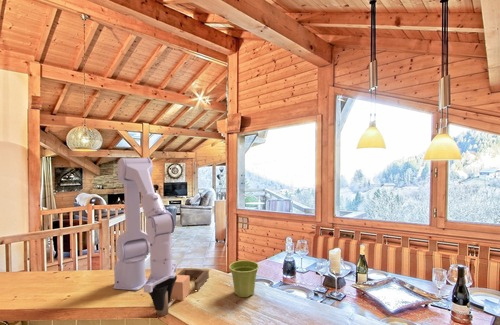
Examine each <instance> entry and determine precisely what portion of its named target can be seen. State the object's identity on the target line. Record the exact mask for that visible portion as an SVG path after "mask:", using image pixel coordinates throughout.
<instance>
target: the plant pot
mask: <svg viewBox="0 0 500 325" xmlns="http://www.w3.org/2000/svg"><path fill="white" fill-rule="evenodd" d="M259 265H260V264H259V263H258V262H255V261H253V260H245V259H244V260H238V261H233V262H232V263H230V264H229V270H230V273H231V276H232V282H233V290H234V295H237V297H239V298H248V297H250V296H253V295H254V294H255V287H256V280H257V273H258V269H259V268H260V266H259Z"/></svg>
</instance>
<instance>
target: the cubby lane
mask: <svg viewBox="0 0 500 325" xmlns="http://www.w3.org/2000/svg"><path fill="white" fill-rule="evenodd" d="M176 275H188V276H190V279H195V278H197V279H195V280H194V283H193V284H194V291H195V290H201V288H202V287H203V286H204V285H205V283H206V282H207V281H208V280H209V278H210V270H209V268H207V269H204V268H188V267H187V268H185V267H184V268H182V270H180V272H179V273H176ZM207 279H208V280H207ZM206 280H207V281H206ZM205 281H206V282H205ZM202 285H203V286H202ZM201 286H202V287H201ZM200 287H201V288H200Z"/></svg>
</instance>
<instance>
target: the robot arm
mask: <svg viewBox="0 0 500 325" xmlns="http://www.w3.org/2000/svg"><path fill="white" fill-rule="evenodd" d="M116 167H117V180H118V183H120V184H122V185H123V190H124V191H123V193H124V219H125V221H124V222H125V230H124V232H123V233H122V234H120V235H119V236H118V237H117V239H116V247H115V250H116V251H115V252H116V258H117V259H118V260H117V261H116V262H115V265H114V268H113V270H114V271H113V272H114V276H113V277H114V278H113V279H114V286H113V287H112V289H114V290H116V289H117V290H124V291H125V290H127V291H140V289H142V288H143V293H148V295H149V296H150V298H151V300H152V303H153V306H154V310H155V311H157V310H159V311H162V310H163V309H164V301H165V293H166V290H168V304H169V303H170V302H171V300H172V299H171V294H172V289H173V286H174V283H175V281H176V279H177V276H176V275H177V273H176V272H177V271H178V264H177V263H173V255H172V254H173V251H172V247H173V246H172V234H173V233H174V232H175V228H176V223H175V218H174V216H173V214H172V213H171V212H170V211H169V210H167V209H166V206H165V204H164V202H163V200H162V196H161V194H159V193H157V192H156V190H155V187H154V184H153V180H152V174H153V171H154V164H153V160H152V159H151V158H150V157H136V158H135V157H134V158H132V157H131V158H130V157H129V158H127V157H126V158H124V157H120V158H119V159H118V162H117V166H116ZM140 193H141V194H140ZM140 195H141V196H142V198H141V196H140ZM140 198H141V199H140ZM141 207H142V210H143V213H144V217H145V218H146V220H145V221H146V222H145V230H146V231H143V230H142V226H141V223H142V222H141ZM148 255H149V260H150V265H149V266H150V275H149V276H148V278H146V259H147V256H148Z"/></svg>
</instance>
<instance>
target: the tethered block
mask: <svg viewBox="0 0 500 325" xmlns="http://www.w3.org/2000/svg"><path fill="white" fill-rule="evenodd" d="M176 276H177V279H176V281H175V283H174V286H173V289H172V294H171V299H170V303H169V304H168V290H166V293H165V301H164V309H163V310H162V311H159V310H156V315H157V316H158V317H164V316H167V315H168V314H169V308H170V307H171V306H172V305H173V304H174V302H175V301H184V300H185V299H186V298H187V297H188V296H189V295H190V294H191V282H190V281H191V280H190V279H191V278H190V276H188V275H177V274H176ZM187 295H188V296H187ZM186 296H187V297H186ZM185 297H186V298H185ZM184 298H185V299H184ZM172 299H173V300H172Z"/></svg>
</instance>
